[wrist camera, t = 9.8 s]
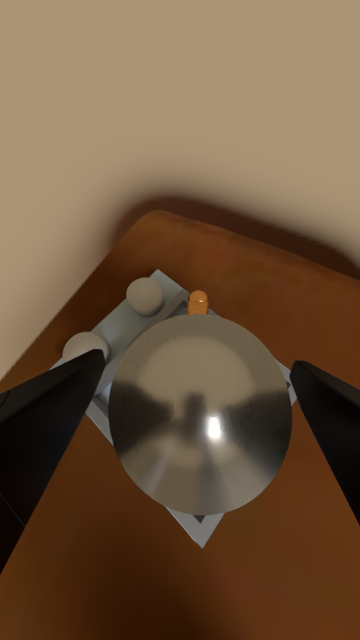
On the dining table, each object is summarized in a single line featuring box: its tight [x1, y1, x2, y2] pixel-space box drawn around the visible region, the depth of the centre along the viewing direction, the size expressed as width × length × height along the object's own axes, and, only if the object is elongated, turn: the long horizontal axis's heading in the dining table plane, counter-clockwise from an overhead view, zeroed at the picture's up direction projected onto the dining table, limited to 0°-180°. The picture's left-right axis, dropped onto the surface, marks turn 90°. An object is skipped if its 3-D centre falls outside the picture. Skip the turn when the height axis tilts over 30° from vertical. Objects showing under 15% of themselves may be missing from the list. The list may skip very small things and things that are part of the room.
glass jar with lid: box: [108, 290, 292, 515], centre depth 11 cm, size 8×6×10 cm
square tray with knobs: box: [49, 269, 297, 548], centre depth 16 cm, size 17×14×4 cm
